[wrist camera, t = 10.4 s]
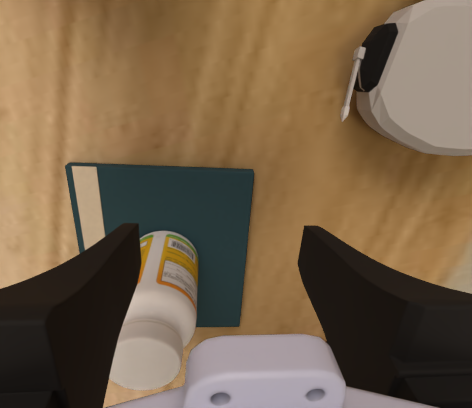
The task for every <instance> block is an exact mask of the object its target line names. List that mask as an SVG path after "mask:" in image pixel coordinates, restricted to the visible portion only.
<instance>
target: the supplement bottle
mask: <svg viewBox="0 0 472 408" xmlns="http://www.w3.org/2000/svg"><path fill="white" fill-rule="evenodd" d="M140 248H141V261H142V264H141V269H140V274H139V279H138V283H137V286H136V289H135V292H134V295H133V298H132V300H131V303H130V306H129V309H128V311H127V314H126V317H125V319H124V322H123V325H122V328H121V331H120V334H119V337H118V341H117V346H116V350H115V354H114V358H113V362H112V367H111V371H110V375H109V379H111V380H112V381H113V382H114V383H116V384H118V385H119V386H122V387H124V388H128V389H132V390H152V389H157V388H160V387H162V386H165V385H167V384H168V383H170V382H171V381H172V380H174V379H175V377H176V376H177V375H178V373H179V371H180V368H181V362H182V354H183V348H184V347H185V346H186V345H187V344H188V343H189V342H190V340H191V338H192V337H193V334H194V331H195V327H196V319H197V286H198V254H197V251H196V249H195V247H194V246H193V245H192V243H191V242H190V241H189V240H188V239H187V238H185V237H184V236H182V235H180V234H178V233H175V232H171V231H156V232H152V233H149V234H146V235H144V236H143V237H141V238H140Z"/></svg>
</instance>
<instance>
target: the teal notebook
mask: <svg viewBox="0 0 472 408" xmlns="http://www.w3.org/2000/svg"><path fill="white" fill-rule="evenodd" d="M65 169H66V175H67V181H68V187H69V193H70V198H71V204H72V210H73V216H74V222H75V228H76V234H77V240H78V246H79V252H80V253H82V252H83V251H85V250H86V249H88V248H89V247H91V246H93V245H94V244H96V243H97V242H98V241H100V240H101V239H102V238H104V237H105V236H107V235H108V234H109V233H111V232H112V231H113V230H115V229H116V228H117V227H119V226H120V225H121V224H123V223H139V235H140V238H141V237H143V236H144V235H146V234H149V233H152V232H156V231H171V232H175V233H178V234H180V235H182V236H184V237H185V238H187V239H188V240H189V241H190V242H191V243H192V245H193V246H194V247H195V249H196V251H197V254H198V286H197V319H196V327H239V326H240V316H241V305H242V295H243V284H244V274H245V264H246V253H247V243H248V232H249V222H250V212H251V201H252V191H253V180H254V171H253V169H233V168H206V167H179V166H151V165H124V164H97V163H68V164H67V165H66V166H65Z"/></svg>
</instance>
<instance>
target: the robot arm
mask: <svg viewBox="0 0 472 408" xmlns="http://www.w3.org/2000/svg"><path fill="white" fill-rule="evenodd" d="M141 264H142V261H141V248H140V235H139V223H123V224H121V225H120V226H119V227H117V228H116V229H115V230H113V231H112V232H111V233H109V234H108V235H107V236H105V237H104V238H102V239H101V240H100V241H98V242H97V243H96V244H94V245H93V246H91V247H89V248H88V249H86V250H85V251H83V252H82V253H80V254H79V255H77V256H75V257H74V258H72V259H70V260H68V261H67V262H65V263H63V264H61V265H59V266H57V267H55V268H53V269H51V270H49V271H46V272H44V273H42V274H39V275H37V276H35V277H32V278H30V279H28V280H25V281H22V282H20V283H17V284H14V285H11V286H8V287H5V288H2V289H0V408H103V404H104V399H105V394H106V389H107V384H108V380H109V375H110V371H111V367H112V362H113V358H114V354H115V350H116V346H117V341H118V337H119V334H120V331H121V328H122V325H123V322H124V319H125V317H126V314H127V311H128V309H129V306H130V303H131V300H132V298H133V295H134V292H135V289H136V286H137V283H138V279H139V274H140V269H141ZM298 267H299V271H300V275H301V278H302V282H303V284H304V287H305V289H306V291H307V294H308V296H309V298H310V301H311V303H312V305H313V307H314V310H315V312H316V314H317V316H318V319H319V321H320V323H321V326H322V328H323V331H324V333H325V336H326V340H327V343H326V342H325V341H324V340H322V339H321V338H320V337H316V336H311V335H305V334H270V335H224V336H219V337H214V338H209V339H206V340H204V341H203V342H201V343H200V344H199V345H197V346H196V347H194V348H193V349H192V350H191V352H190V354H189V357H188V359H187V362H186V374H185V384H184V385H183V386H181V387H178V388H174V389H170V390H167V391H163V392H160V393H156V394H152V395H149V396H145V397H142V398H138V399H134V400H131V401H127V402H124V403H120V404H116V405H113V406H109V407H105V408H472V294H470V293H465V292H461V291H457V290H453V289H449V288H445V287H442V286H438V285H435V284H432V283H429V282H426V281H423V280H420V279H417V278H414V277H412V276H409V275H406V274H404V273H401V272H399V271H396V270H394V269H392V268H390V267H388V266H385V265H383V264H381V263H379V262H377V261H375V260H373V259H371V258H370V257H368V256H366V255H364V254H362V253H361V252H359V251H357V250H356V249H354V248H352V247H351V246H349V245H348V244H346V243H345V242H343V241H341V240H340V239H338V238H337V237H335V236H334V235H332V234H331V233H329V232H328V231H326V230H324V229H323V228H321V227H319V226H304V230H303V236H302V242H301V247H300V253H299V259H298Z"/></svg>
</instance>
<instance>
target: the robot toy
mask: <svg viewBox="0 0 472 408" xmlns="http://www.w3.org/2000/svg"><path fill="white" fill-rule="evenodd" d="M353 61H355V62H354V66H353V70H352V74H351V78H350V82H349V86H348V90H347V94H346V98H345V102H344V106H343V107H342V110H341V114H340V117H341V120H342V122H343V120H344V119H345V118H346V117H347V116H348V112H349V108H350V107H349V104H350V100H351V96H352V92H353V88H354V89H355V90H356V91H357V92H356V94H357V110H358V112H359V113H360V115H361V116H362V118H363V120H364V121H365V122H366V123H367V124H368V125H369V126H370V127H371V128H372V129H374V130H375V131H377V132H378V133H380V134H381V135H382V136H384V137H386V138H388V139H390V140H393V141H395V142H397V143H399V144H401V145H403V146H405V147H407V148H410V149H413V150H416V151H419V152H423V153H428V154H438V155H449V156H467V155H472V0H424V1H421V2H419V3H416V4H413V5H411V6H408V7H406V8H403V9H401V10H398V11H396V12H393V14H392V15H391V16H390V17H389V18H388V20H387V21H386V22H385V23H384V24H383V25H380V26H377V27H374V29H373V30H372V31H371V33H370V34H369V35H368V37H367V38H366V39H365V41H364V42H363V44H362V47H361V46H360V47H358V48H357V49H355V52H354V56H353Z"/></svg>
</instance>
